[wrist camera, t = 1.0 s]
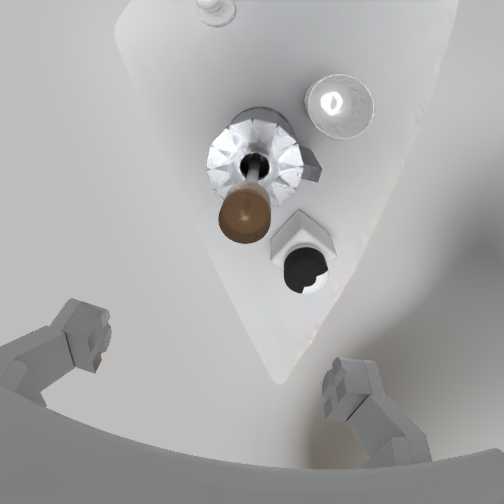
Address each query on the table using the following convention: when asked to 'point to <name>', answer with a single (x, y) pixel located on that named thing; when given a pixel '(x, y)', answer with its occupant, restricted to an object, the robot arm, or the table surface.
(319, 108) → the white cup
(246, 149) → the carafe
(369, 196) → the table surface
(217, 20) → the chess pawn
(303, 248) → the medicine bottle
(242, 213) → the plunger
